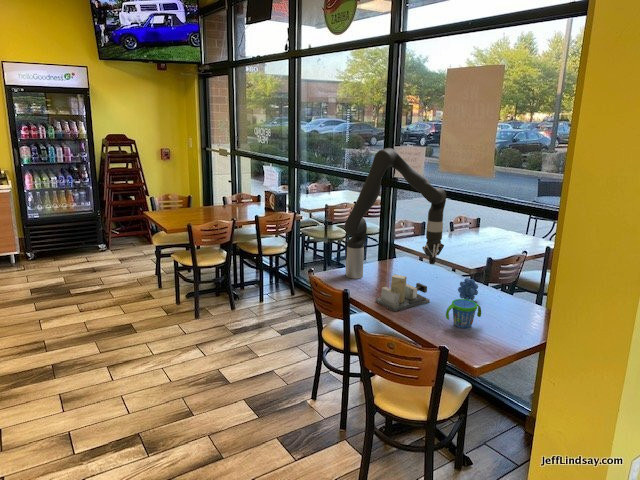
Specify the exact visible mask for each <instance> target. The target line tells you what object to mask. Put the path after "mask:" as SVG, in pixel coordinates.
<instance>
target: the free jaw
mask: <svg viewBox="0 0 640 480" xmlns="http://www.w3.org/2000/svg"><path fill="white" fill-rule="evenodd" d="M418 291H420V292H422V293H423V294H424V293H426V294H427V292H428V286H427V285H424V284H422V283H421V282H417V283H416V284H415V286H413V285H410V284H408V283H406V290H405V298H407V299H409V300H411V301H412V300H416V299H417V294H418Z"/></svg>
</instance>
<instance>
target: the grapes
mask: <svg viewBox="0 0 640 480" xmlns="http://www.w3.org/2000/svg"><path fill="white" fill-rule="evenodd" d="M478 289H479V285H478V284H477V283H476V280H475V279H474V278H471V279H470V278H469V277H466V278H464V281H463V280H462V281H460V282H459V287H458V289H457V291H458V293H459V299H467V300H471V301H473V300H475V296H477V295H478V294H479V291H478Z"/></svg>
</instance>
